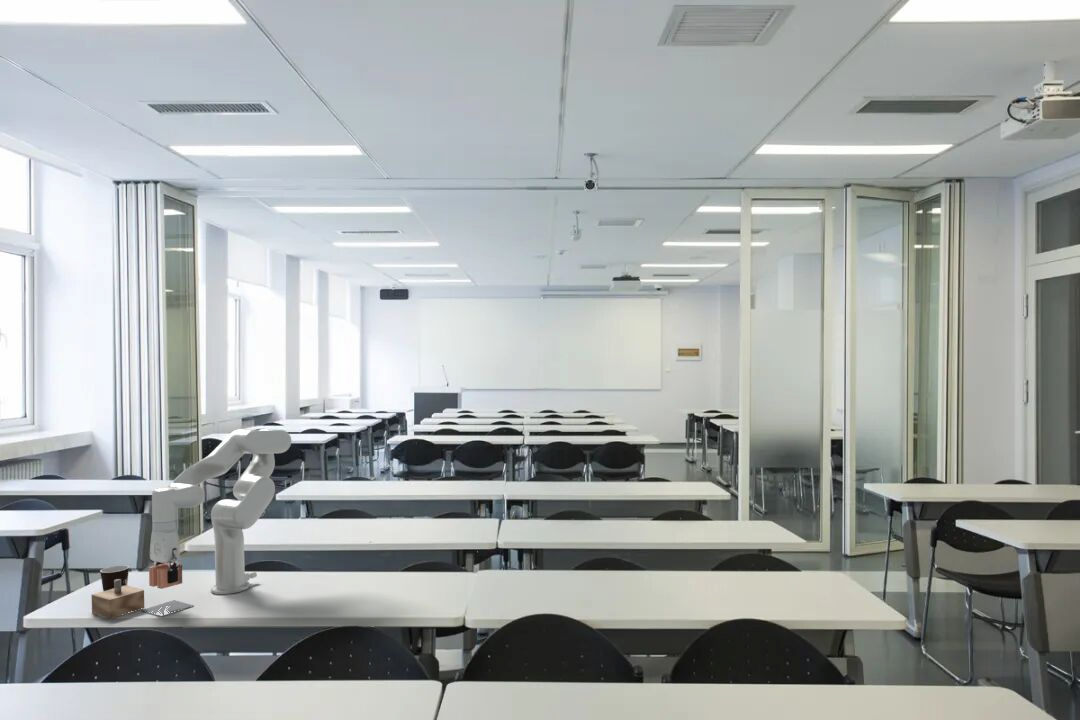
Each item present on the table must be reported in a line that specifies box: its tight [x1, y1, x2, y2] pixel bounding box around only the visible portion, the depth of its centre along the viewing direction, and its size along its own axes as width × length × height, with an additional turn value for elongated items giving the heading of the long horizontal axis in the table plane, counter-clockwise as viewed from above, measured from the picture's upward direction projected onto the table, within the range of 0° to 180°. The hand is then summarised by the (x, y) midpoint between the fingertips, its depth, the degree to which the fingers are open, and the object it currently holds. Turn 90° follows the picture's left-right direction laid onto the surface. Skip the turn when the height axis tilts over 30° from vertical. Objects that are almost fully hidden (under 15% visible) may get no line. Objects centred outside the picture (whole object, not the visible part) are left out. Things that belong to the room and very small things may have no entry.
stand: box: [91, 579, 145, 620], centre depth 240 cm, size 11×11×10 cm
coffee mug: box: [99, 564, 130, 592], centre depth 254 cm, size 12×9×10 cm
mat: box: [141, 599, 194, 615], centre depth 240 cm, size 11×11×1 cm
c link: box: [148, 563, 183, 590], centre depth 240 cm, size 7×7×6 cm
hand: (166, 580), depth 240 cm, fingers closed on c link, 7 cm apart
